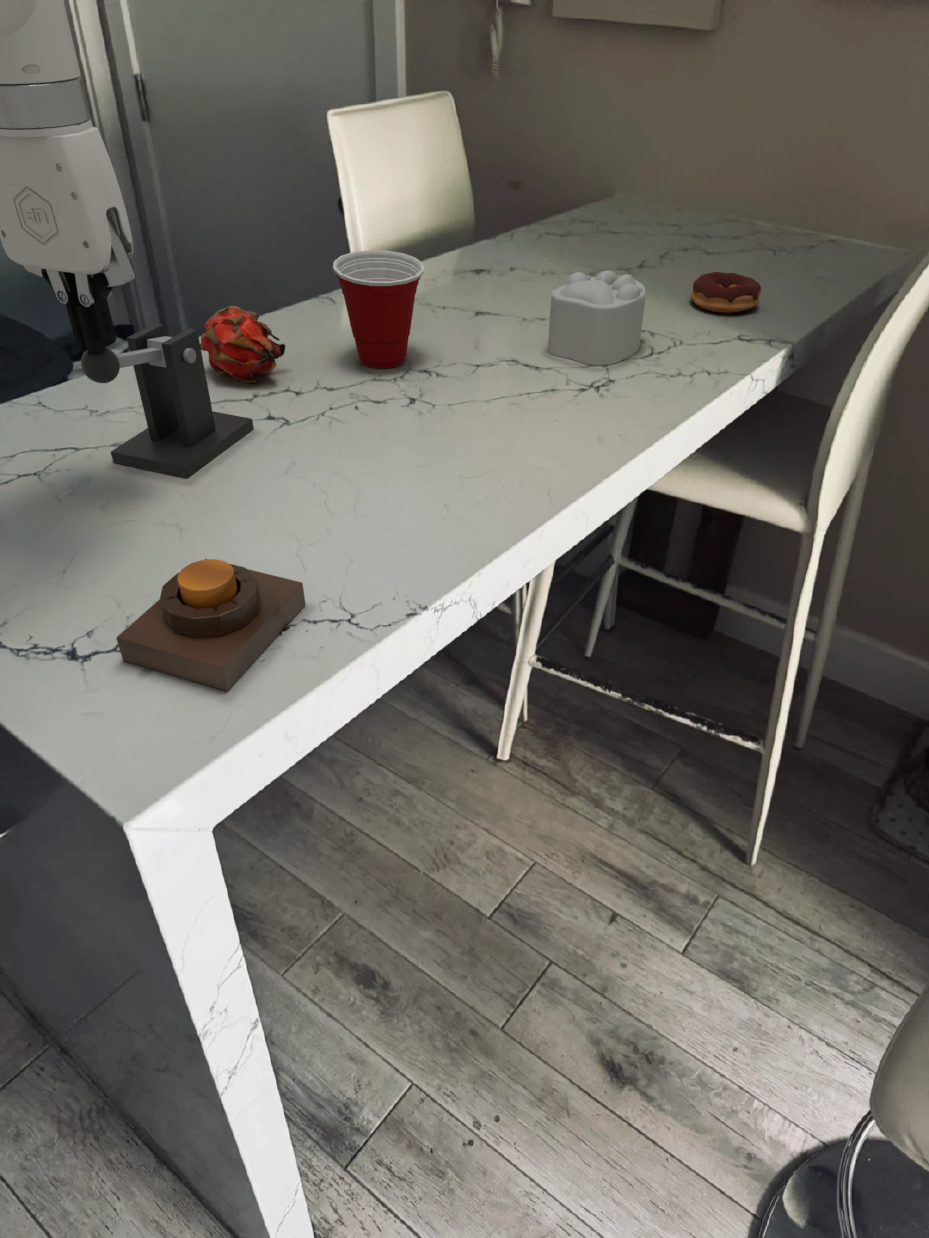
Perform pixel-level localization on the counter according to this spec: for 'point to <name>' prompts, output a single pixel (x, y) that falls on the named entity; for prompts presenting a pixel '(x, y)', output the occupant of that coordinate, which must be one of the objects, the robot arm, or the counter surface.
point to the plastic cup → (379, 302)
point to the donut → (725, 292)
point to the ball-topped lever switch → (121, 360)
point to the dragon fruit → (240, 344)
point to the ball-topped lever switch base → (177, 410)
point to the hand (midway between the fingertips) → (98, 345)
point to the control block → (212, 629)
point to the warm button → (207, 583)
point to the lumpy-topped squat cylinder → (596, 318)
